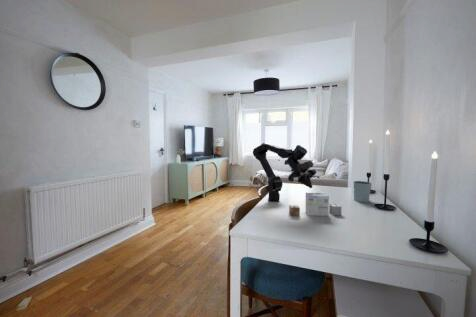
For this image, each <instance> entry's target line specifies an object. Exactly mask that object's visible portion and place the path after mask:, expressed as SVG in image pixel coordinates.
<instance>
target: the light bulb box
mask: <svg viewBox="0 0 476 317" xmlns="http://www.w3.org/2000/svg"><path fill="white" fill-rule="evenodd" d="M329 200H330V195H329V194H327V193H326V192H305V213H306V215H307V216H315V217H316V216H318V217H319V216H320V217H328V216H329V214H330V212H329V204H330V201H329Z"/></svg>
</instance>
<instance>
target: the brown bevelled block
mask: <svg viewBox="0 0 476 317" xmlns="http://www.w3.org/2000/svg"><path fill="white" fill-rule="evenodd" d="M288 208H289V209H288V215H289V216H290V217H300V212H301V211H300V210H301V208H300V207H299V205H297V204H289V205H288Z"/></svg>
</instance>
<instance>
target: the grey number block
mask: <svg viewBox="0 0 476 317" xmlns="http://www.w3.org/2000/svg"><path fill="white" fill-rule="evenodd" d="M329 214H330V215H332V216H342V206H341V205H340V204H339V203H337V204H336V203H335V204H334V203H329Z"/></svg>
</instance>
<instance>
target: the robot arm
mask: <svg viewBox="0 0 476 317" xmlns="http://www.w3.org/2000/svg"><path fill="white" fill-rule="evenodd" d="M268 151H269V152H271V153H274V154H277V156H278V157H280V158H281V159H285V160H284V163H283V164H284V166H285V165H288V166H289V168H290V169H291V170H290V171H291V173H290V174H289V175H288V177H287V180H288V181H289V182H290V183H292V182H294V180H295V179H297V181H296V182H298V183H300V184H303V185H305V186H306V187H307V188H310V189H312V188H313V184H312V180H311V179H312V178H313V177H314V176H315V175H316V174H317V172H318V171H317V170H316V169H311V168H314V162H313V161H312V160H308V161H304V162H303V163H301V162H300V161H301V160H302V159H303V158H304V157H305V156H306V154H308V150H307V149H306V148H304V146H301V145H300V144H299V145H298V144H297V145H296V146H295V148H294V149H292V148H290V147H289V148H288V147H286V148H285V147H280V146H277V145H275V144H272V143H270V142H263V143H261V144H260V145H258V146H257V147H255V148H254V149H253V150H252V156H254V158H255V159H256V160H258V161H259V163H260V165H261V167H262V169H263V171H264V173H265V175H266V177H267V183H268V184H267V186H266V188H265V191H266V192H267V193H268V198H267V200H268V202H269V203H270V202H271V203H273V202H274V203H276V202H277V203H279V202H280V199H281V198H280V196H281V194H280V192H281V191H282V188H283V180H282V179H281V177H280V176H279V175H276V174H275V172H274V170H273V169H272V167H271V165H270V163H269V161H268V159H267V153H268Z"/></svg>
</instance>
